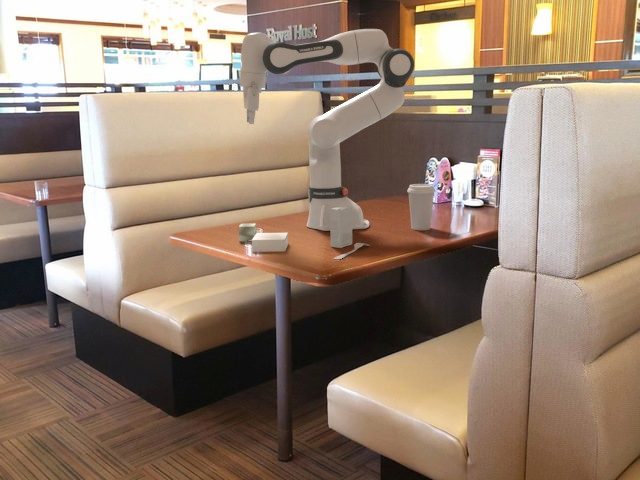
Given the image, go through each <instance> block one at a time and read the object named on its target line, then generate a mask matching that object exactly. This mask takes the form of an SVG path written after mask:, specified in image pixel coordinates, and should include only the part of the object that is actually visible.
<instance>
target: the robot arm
mask: <svg viewBox="0 0 640 480" xmlns="http://www.w3.org/2000/svg"><path fill="white" fill-rule="evenodd" d="M240 53H241V54H240V62H241V67H240V70H239V87H242V92H243V107H244V109H246V123H248V124H250V125H254V124H255V119H256V112H257V111H259V109H260V94H261V93H262V89H266V81H267V72H270V73H272V74H274V75H286V74H288V73H289V72H290V71H291V70H292V69H293V68H295V67H298V66H302V65H306V64H314V63H319V62H320V63H321V62H322V63H323V62H325V63H331V64H334V65H338V66H352V65H353V66H354V65H360V64H365V63H366V64H367V63H372V64H374V67H375V69H376V71H377V74H378V75H379V77H380V81H379V82H378V83H377V84H376V85H375V86H373V87H371V88H370V89H367V90H365V91H364V92H362V93H360V94H358V95H356V96H354V97H353V98H350V99H348V100H347V101H345V102H343V103H341V104H339V105H338V106H336V107H335V108H334V107H333V109H331V110H329V111H327V112H325V113H324V114H320V115H317V116H316V117H314V118H313V119H312V120H311V121H310V123H309V125H308V132H307V133H308V154H309V157H308V158H309V159H308V160H309V161H308V162H309V187H308V201H309V211H308V218H307V223H306V227H307V228H310V229H315V230H320V231H323V232H325V231H330V209H332V208H336V207H340V206H348V207H352V230H363V229H367V228H369V227H370V221H369V220H368V219H366V218H364V213H363V210H362V208H361V207H360V206H359V204H357V203H356V202H354V201H353V200H352V199H351V198H349V197H348V194H349V190H348V189H347V188H346V187H344V186H342V174H341V173H342V166H341V165H342V164H341V148H340V147H341V145H340V143H342V142H344V141H345V140H348V139H349V138H351V137H352V136H354V135H355V134H357V133H359V132H360V131H362V130H364V129H365V128H367V127H369V126H371V125H374V124H375V123H377V122H379V121H380V120H383V119H385V118H386V117H388V116H389V115H391V114H392V113H394V112H395V111H396V110H398V109H399V108H400V107H402V106H403V105H404V103H405V99H406V96H405V92H404V88H403V87H405V85H406V83H407V82H408V80H409V79H410V78H411V76H412V75H413V72H414V69H415V59H414V58H413V55H412V54H411V53H410V51H408V50H406V49H404V48H393V47H391V46H390V44H389V39H388V36H387V33H385V32H384V31H383V30H382V29H378V28H363V29H362V28H361V29H354V30H349V31H345V32H340V33H338V34H336V35H333V36H331V37H328V38H326V39H323V40H320V41H315V42H314V41H313V42H307V43H301V44H289V43H286V42H281V41H275V39H272V38H271V37H269V36H268V35H267V33H265V32H251V33H247V34H245V36H244V37H243V40H242V43H241V51H240Z"/></svg>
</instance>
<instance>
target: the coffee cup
mask: <svg viewBox="0 0 640 480" xmlns="http://www.w3.org/2000/svg"><path fill="white" fill-rule="evenodd" d="M406 191H407V193H408V201H409V204H408V205H409V211H410V212H409V215H410V226H411V230H414V231H428V230H431V227H432V226H431V225H432V215H433V207H434V206H433V205H434V196H435V193H436V189H435V187H434V185H433V184H430V183H414V184H409V187H408V188H407V190H406Z"/></svg>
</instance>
